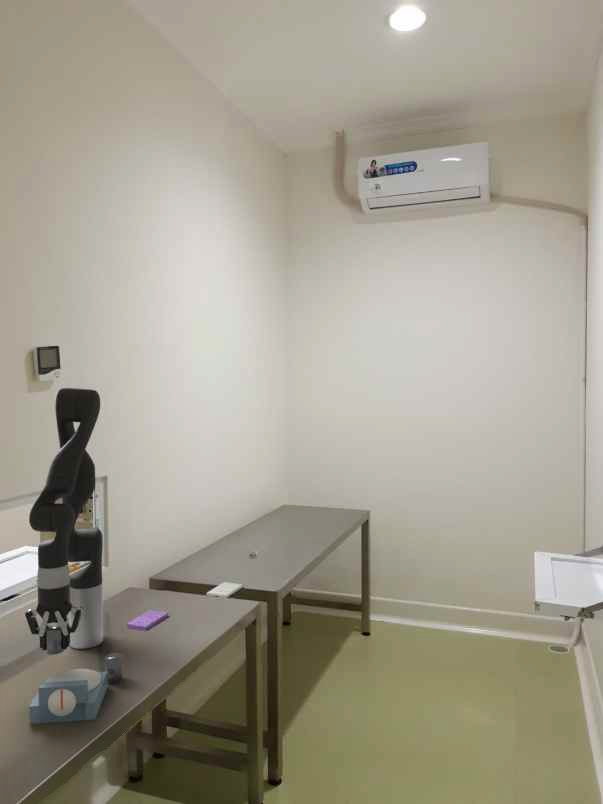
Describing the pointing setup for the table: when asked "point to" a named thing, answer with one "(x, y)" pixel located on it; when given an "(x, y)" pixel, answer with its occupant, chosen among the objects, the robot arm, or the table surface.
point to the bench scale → (69, 697)
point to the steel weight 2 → (114, 667)
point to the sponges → (147, 620)
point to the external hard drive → (225, 589)
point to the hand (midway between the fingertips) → (55, 648)
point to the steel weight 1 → (54, 639)
